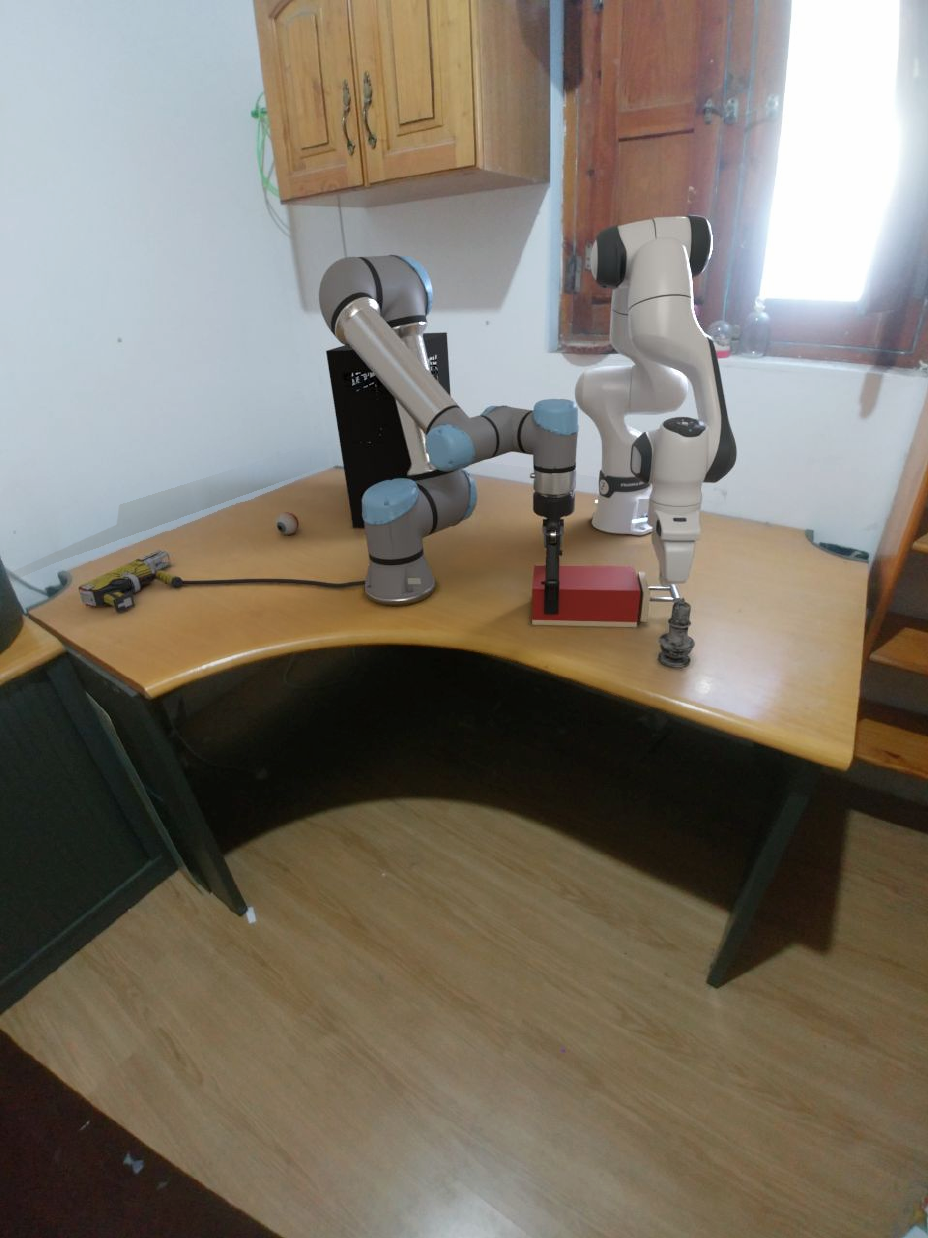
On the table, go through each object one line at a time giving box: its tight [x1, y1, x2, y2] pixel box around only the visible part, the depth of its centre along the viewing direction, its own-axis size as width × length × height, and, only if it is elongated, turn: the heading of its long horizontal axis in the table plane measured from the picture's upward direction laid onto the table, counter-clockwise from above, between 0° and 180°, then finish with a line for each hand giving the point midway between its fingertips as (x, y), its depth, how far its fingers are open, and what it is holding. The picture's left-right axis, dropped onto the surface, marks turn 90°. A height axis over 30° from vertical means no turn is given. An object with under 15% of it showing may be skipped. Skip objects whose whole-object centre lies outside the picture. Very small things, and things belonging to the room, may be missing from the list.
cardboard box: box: [325, 331, 452, 529], centre depth 169 cm, size 38×20×45 cm, turn 167°
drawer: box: [637, 571, 682, 623], centre depth 117 cm, size 25×9×6 cm, turn 82°
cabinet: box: [531, 564, 640, 628], centre depth 118 cm, size 20×10×8 cm, turn 82°
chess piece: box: [657, 597, 696, 668], centre depth 101 cm, size 6×6×12 cm
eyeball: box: [275, 511, 300, 536], centre depth 163 cm, size 6×6×6 cm
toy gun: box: [78, 549, 183, 614], centre depth 138 cm, size 5×24×15 cm
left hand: (551, 599), depth 119 cm, fingers closed on cabinet, 10 cm apart
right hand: (664, 584), depth 114 cm, fingers closed
